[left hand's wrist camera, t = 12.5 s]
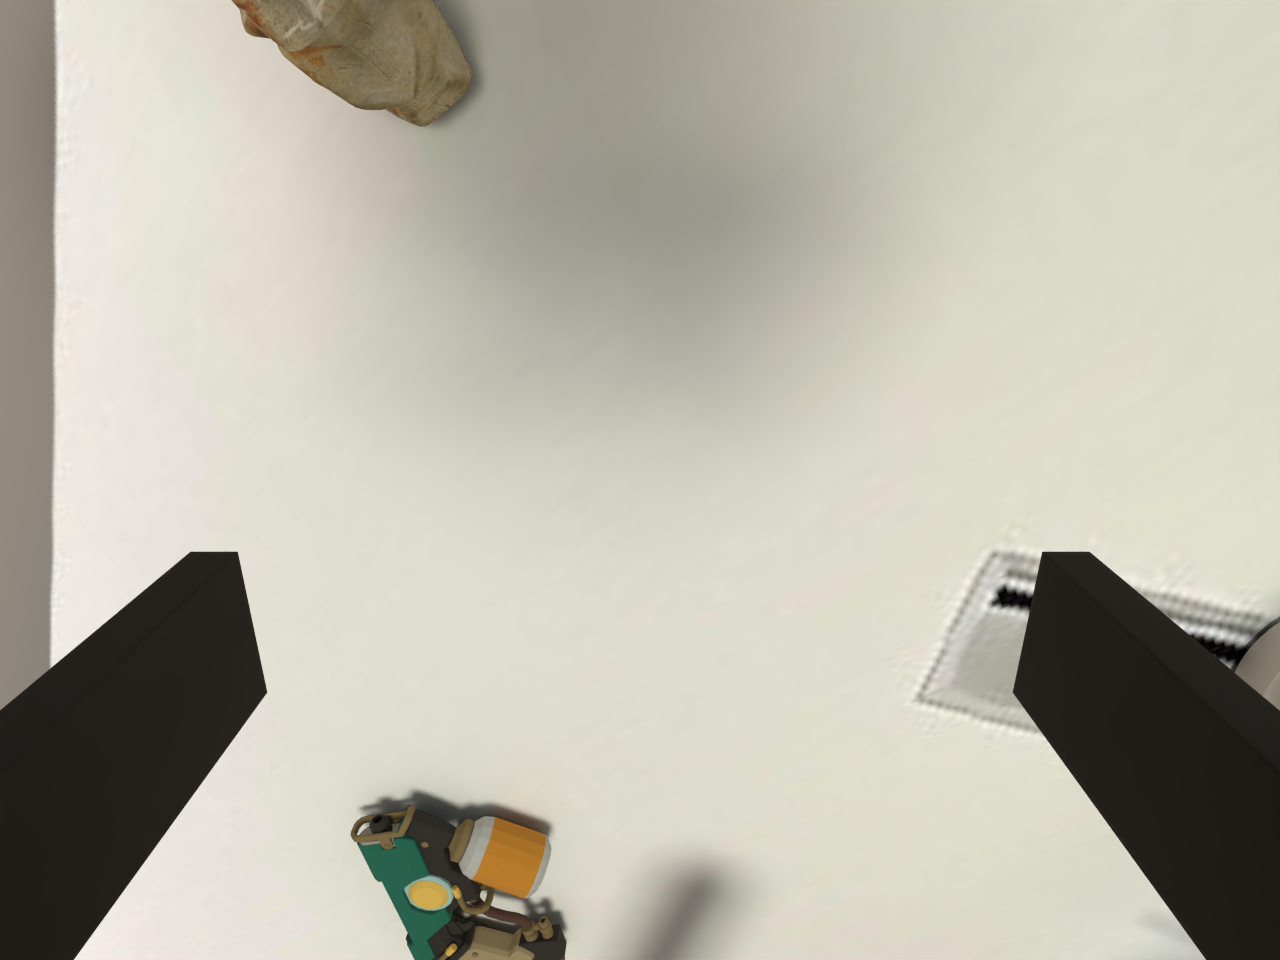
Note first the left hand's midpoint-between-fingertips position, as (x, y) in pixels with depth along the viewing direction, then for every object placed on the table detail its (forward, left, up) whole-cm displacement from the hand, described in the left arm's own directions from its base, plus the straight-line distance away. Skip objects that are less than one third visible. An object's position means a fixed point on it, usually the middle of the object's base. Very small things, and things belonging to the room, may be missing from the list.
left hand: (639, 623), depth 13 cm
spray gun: (+44, -2, -32) cm, 54 cm away
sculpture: (-10, -14, -32) cm, 36 cm away
